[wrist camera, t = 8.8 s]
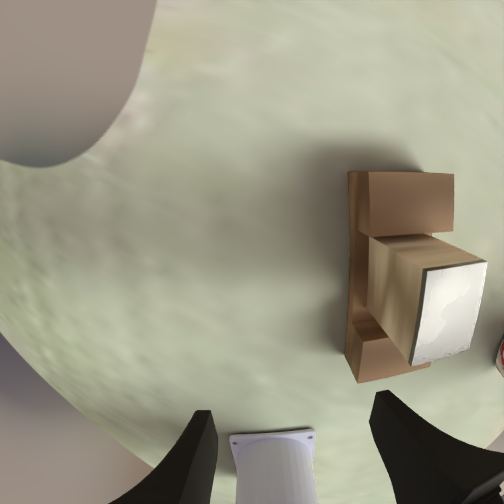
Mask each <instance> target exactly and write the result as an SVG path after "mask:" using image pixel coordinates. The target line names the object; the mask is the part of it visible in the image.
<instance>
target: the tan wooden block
mask: <svg viewBox="0 0 504 504" xmlns="http://www.w3.org/2000/svg"><path fill="white" fill-rule="evenodd" d="M486 269H487V261H485V260H483V259H481V258H479V257H477V256H474V255H472V254H470V253H468V252H466V251H464V250H461V249H459V248H457V247H455V246H452V245H450V244H448V243H446V242H443V241H441V240H439V239H436V238H434V237H432V236H429V235H427V234H424V233H421V234H407V235H393V236H380V237H369V266H368V289H367V305H366V308H367V309H368V311H369V312H370V313H371V314H372V316H373V317H374V318H375V319H376V321H377V322H378V323H379V325H380V326H381V327H382V328H383V330H384V331H385V332H386V334H387V335H388V336H389V338H390V339H391V340H392V342H393V343H394V344H395V346H396V347H397V348H398V350H399V351H400V352H401V354H402V355H403V356H404V358H405V359H406V360H407V362H408V363H409V365H410V366H411V367H412V366H416V365H420V364H423V363H427V362H430V361H434V360H437V359H440V358H444V357H447V356H450V355H453V354H456V353H459V352H462V351H465V350H468V349H469V347H470V344H471V340H472V336H473V333H474V329H475V325H476V321H477V317H478V312H479V308H480V303H481V298H482V293H483V288H484V282H485V276H486Z"/></svg>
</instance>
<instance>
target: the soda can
mask: <svg viewBox="0 0 504 504" xmlns="http://www.w3.org/2000/svg"><path fill="white" fill-rule="evenodd" d="M496 368H497V369H498V371H499V372H500V373H501V375H502V376H503V377H504V339H503V340H502V342H501V344H500V347H499V350H498V355H497V359H496Z"/></svg>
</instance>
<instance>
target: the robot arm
mask: <svg viewBox="0 0 504 504" xmlns="http://www.w3.org/2000/svg"><path fill="white" fill-rule="evenodd" d="M369 424H370V428H371V431H372V435H373V438H374V441H375V444H376V446H377V448H378V451H379V453H380V455H381V458H382V460H383V462H384V465H385V467H386V469H387V472H388V474H389V477H390V479H391V482H392V486H393V490H394V494H395V498H396V502H397V504H504V495H503V496H500V494H499V493H500V492H501V488H500V486H499V485H500V484H501V483H502V482H503V481H504V453H501V452H495V451H490V450H486V449H482V448H479V447H476V446H473V445H470V444H467V443H465V442H463V441H460V440H458V439H456V438H454V437H452V436H450V435H448V434H446V433H444V432H442V431H441V430H439V429H438V428H436V427H434V426H433V425H432V424H430V423H429V422H427V421H426V420H424V419H423V418H422V417H420V416H419V415H418V414H417V413H415V412H414V411H413V410H412V409H410V408H409V407H408V406H407V405H406V404H405V403H403V402H402V401H401V400H400V399H399V398H398V397H396V396H395V395H394V394H393V393H392V392H391V391H389V390H384V391H380V392H376V395H375V399H374V404H373V408H372V412H371V416H370V420H369ZM315 437H316V432H315V430H314V429H304V430H296V431H286V432H275V433H261V434H238V435H231V436H230V437H229V442H230V446H231V450H232V454H233V458H234V462H235V466H236V470H237V484H236V504H319V501H318V495H317V489H316V484H315V478H314V473H313V467H312V463H313V455H314V446H315ZM217 454H218V436H217V432H216V429H215V425H214V421H213V417H212V413H211V410H197V411H195V413H194V415H193V416H192V418H191V420H190V422H189V423H188V425H187V427H186V428H185V430H184V432H183V433H182V435H181V436H180V438H179V439H178V440H177V442H176V443H175V445H174V446H173V448H172V449H171V450H170V451H169V453H168V454H167V455H166V456H165V458H164V459H163V460H162V461H161V462H160V463H159V464H158V466H157V467H156V468H155V469H154V470H153V471H152V472H151V473H150V474H149V475H148V476H146V477H145V478H144V479H143V480H142V481H141V482H140V483H138V484H137V485H136V486H135V487H133V488H132V489H131V490H129V491H128V492H126V493H125V494H123V495H122V496H121V497H119V498H117V499H116V500H114V501H112V502H111V503H109V504H210V497H211V491H212V485H213V480H214V474H215V468H216V463H217Z"/></svg>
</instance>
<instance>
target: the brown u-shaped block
mask: <svg viewBox="0 0 504 504" xmlns="http://www.w3.org/2000/svg"><path fill="white" fill-rule="evenodd" d="M348 185H349V212H350V274H349V301H348V319H347V333H346V346H345V358H346V360H347V362H348V364H349V366H350V368H351V371H352V373H353V375H354V377H355V379H356V381H357V384H358V383H363V382H368V381H373V380H378V379H382V378H387V377H391V376H395V375H400V374H404V373H408V372H411V371H415V370H419V369H423V368H426V367H430V364H431V361H430V362H427V363H423V364H420V365H416V366H412V367H411V366H410V365H409V363H408V362H407V360H406V359H405V358H404V356H403V355H402V354H401V352H400V351H399V350H398V348H397V347H396V346H395V344H394V343H393V342H392V340H391V339H390V338H389V336H388V335H387V334H386V332H385V331H384V330H383V328H382V327H381V326H380V325H379V323H378V322H377V321H376V319H375V318H374V317H373V316H372V314H371V313H370V312H369V311H368V309H367V308H366V305H367V289H368V266H369V237H380V236H393V235H407V234H421V233H424V234H427V235H429V236H432V233H435V232H450V231H453V221H454V174H445V173H429V172H397V171H349V172H348Z"/></svg>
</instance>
